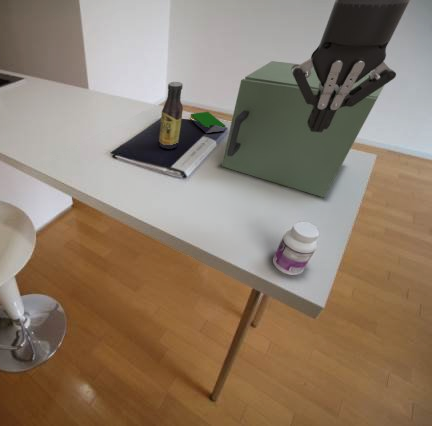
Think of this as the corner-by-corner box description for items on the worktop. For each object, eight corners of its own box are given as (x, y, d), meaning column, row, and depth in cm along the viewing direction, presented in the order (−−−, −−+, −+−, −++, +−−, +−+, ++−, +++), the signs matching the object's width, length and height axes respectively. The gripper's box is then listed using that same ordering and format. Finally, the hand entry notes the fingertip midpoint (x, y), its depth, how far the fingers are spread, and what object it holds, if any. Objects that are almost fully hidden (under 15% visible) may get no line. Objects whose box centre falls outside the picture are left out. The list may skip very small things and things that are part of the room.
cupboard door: (319, 209, 67) (373, 108, 52) (213, 175, 80) (231, 86, 65) (324, 195, 71) (377, 97, 56) (222, 164, 84) (242, 78, 69)
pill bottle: (277, 250, 58) (294, 214, 52) (306, 263, 56) (327, 226, 49) (268, 266, 55) (285, 230, 49) (298, 281, 53) (320, 244, 46)
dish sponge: (205, 134, 100) (207, 128, 98) (189, 119, 110) (190, 113, 109) (224, 132, 101) (226, 125, 99) (207, 117, 111) (208, 111, 110)
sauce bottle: (155, 144, 96) (158, 82, 83) (170, 140, 98) (176, 78, 85) (166, 153, 91) (171, 88, 79) (182, 148, 93) (190, 84, 80)
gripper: (316, 2, 35) (272, 136, 46) (455, -1, 31) (371, 145, 42) (306, -3, 40) (269, 118, 51) (424, -6, 37) (357, 124, 48)
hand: (315, 130), depth 47 cm, fingers closed
